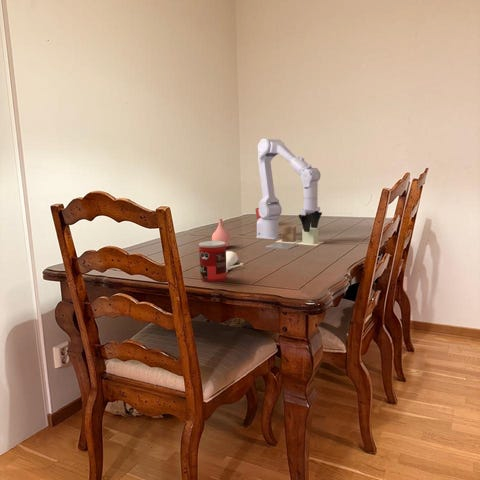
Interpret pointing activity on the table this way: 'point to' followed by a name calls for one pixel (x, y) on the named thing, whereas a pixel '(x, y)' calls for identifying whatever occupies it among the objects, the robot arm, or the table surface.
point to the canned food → (212, 261)
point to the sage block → (310, 236)
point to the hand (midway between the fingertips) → (310, 230)
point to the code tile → (310, 244)
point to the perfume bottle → (221, 234)
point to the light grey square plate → (282, 246)
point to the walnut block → (288, 234)
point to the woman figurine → (231, 260)
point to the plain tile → (289, 242)
